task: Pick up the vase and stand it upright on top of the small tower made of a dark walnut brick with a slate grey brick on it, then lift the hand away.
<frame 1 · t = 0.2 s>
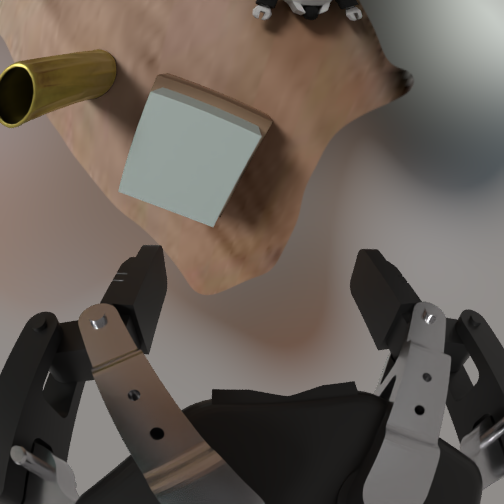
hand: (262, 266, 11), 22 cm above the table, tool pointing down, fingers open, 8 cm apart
bottom brick: (195, 139, 29), on the table
vase: (94, 73, 22), on the table
top brick: (190, 149, 26), point 4 cm above the table, touching bottom brick
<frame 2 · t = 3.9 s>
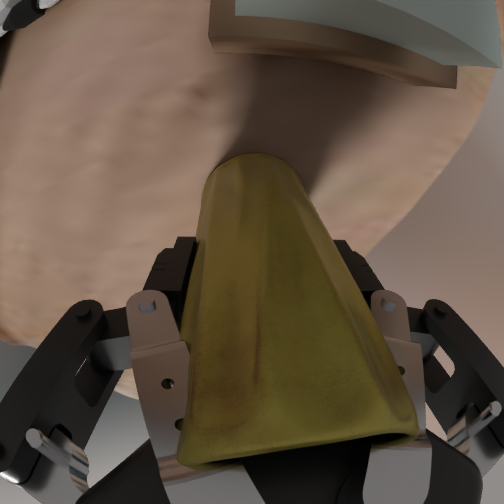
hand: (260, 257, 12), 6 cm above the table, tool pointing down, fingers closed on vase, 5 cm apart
vase: (253, 202, 16), on the table, touching gripper
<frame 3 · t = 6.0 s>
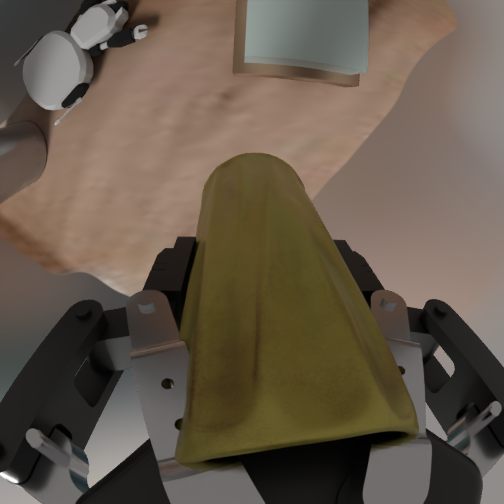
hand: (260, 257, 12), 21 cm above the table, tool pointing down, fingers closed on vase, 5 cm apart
bottom brick: (293, 30, 22), on the table
robot toy: (86, 50, 21), on the table
vase: (253, 201, 16), point 15 cm above the table, touching gripper
top brick: (301, 20, 18), point 4 cm above the table, touching bottom brick
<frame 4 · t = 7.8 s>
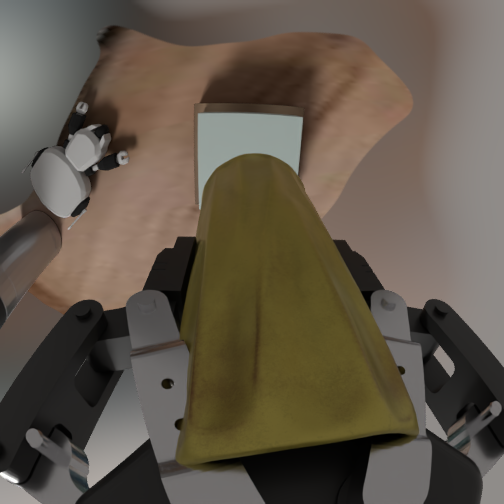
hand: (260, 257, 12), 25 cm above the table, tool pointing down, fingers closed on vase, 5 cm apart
bottom brick: (246, 149, 33), on the table
robot toy: (81, 160, 32), on the table
vase: (254, 201, 16), point 20 cm above the table, touching gripper
top brick: (247, 155, 30), point 4 cm above the table, touching bottom brick
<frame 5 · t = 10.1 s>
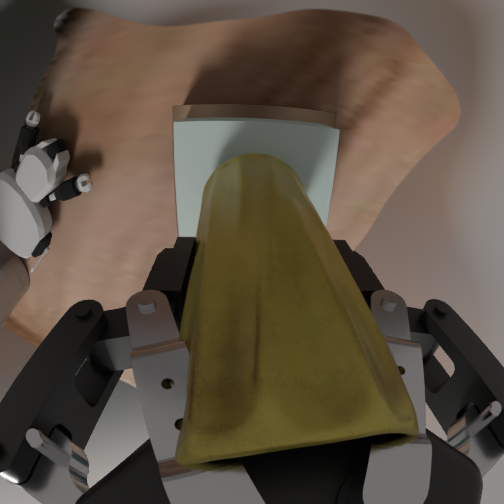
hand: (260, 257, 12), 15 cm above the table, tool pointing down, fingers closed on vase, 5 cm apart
bottom brick: (249, 169, 24), on the table
robot toy: (40, 185, 23), on the table
vase: (254, 201, 16), point 9 cm above the table, touching gripper
top brick: (251, 182, 21), point 4 cm above the table, touching bottom brick
when the fingers open (14 cm above the table, at t = 11.8 s): vase stays where it is, resting on top brick.
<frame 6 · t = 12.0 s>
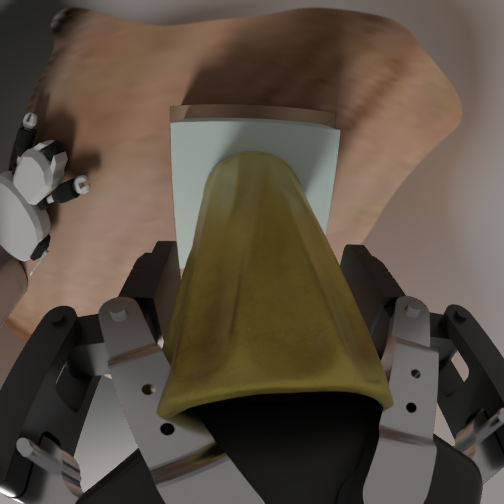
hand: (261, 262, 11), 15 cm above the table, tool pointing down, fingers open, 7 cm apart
bottom brick: (248, 170, 24), on the table
robot toy: (38, 187, 23), on the table
vase: (253, 198, 17), point 8 cm above the table, touching top brick
top brick: (250, 183, 21), point 4 cm above the table, touching bottom brick, vase
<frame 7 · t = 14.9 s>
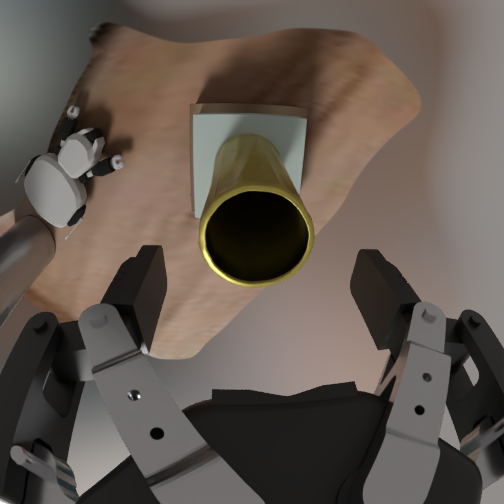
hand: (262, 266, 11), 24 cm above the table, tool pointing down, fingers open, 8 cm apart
bottom brick: (246, 152, 31), on the table
robot toy: (75, 167, 31), on the table
vase: (247, 165, 25), point 8 cm above the table, touching top brick
top brick: (247, 159, 28), point 4 cm above the table, touching bottom brick, vase
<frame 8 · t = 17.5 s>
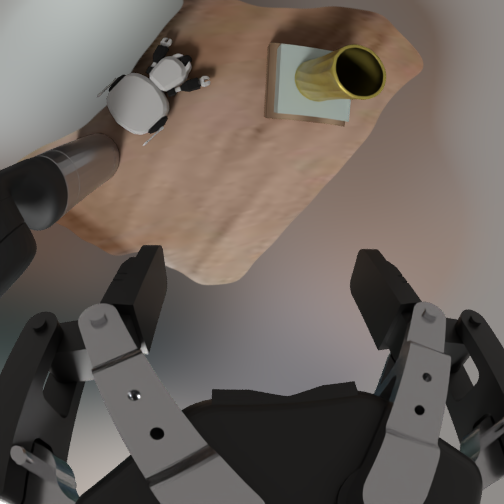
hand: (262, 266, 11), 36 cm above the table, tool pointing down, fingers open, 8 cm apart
bottom brick: (303, 84, 37), on the table
robot toy: (157, 89, 37), on the table
vase: (316, 80, 31), point 8 cm above the table, touching top brick
top brick: (309, 83, 34), point 4 cm above the table, touching bottom brick, vase
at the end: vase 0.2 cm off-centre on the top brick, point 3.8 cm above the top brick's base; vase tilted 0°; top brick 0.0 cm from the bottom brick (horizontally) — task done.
